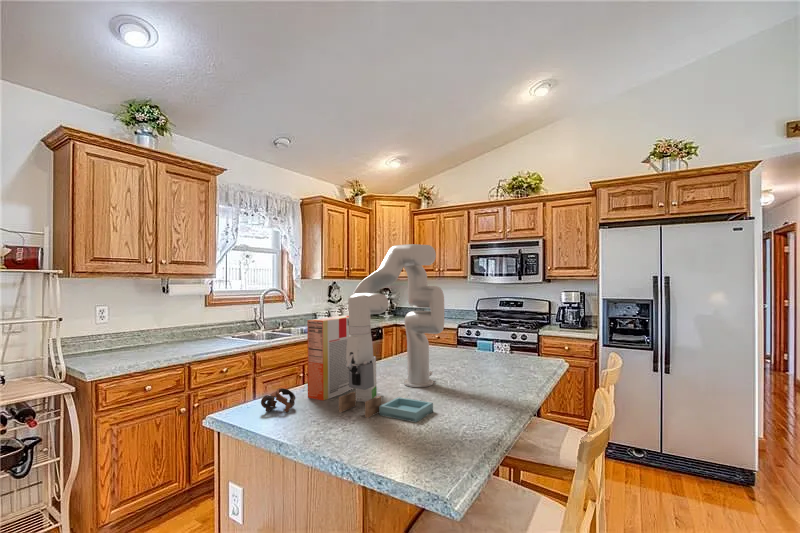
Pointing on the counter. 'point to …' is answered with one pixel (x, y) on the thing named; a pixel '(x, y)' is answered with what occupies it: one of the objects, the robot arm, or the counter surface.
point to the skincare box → (368, 393)
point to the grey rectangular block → (364, 376)
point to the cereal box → (327, 357)
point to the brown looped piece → (278, 397)
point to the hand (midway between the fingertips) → (361, 382)
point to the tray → (406, 409)
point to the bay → (350, 401)
